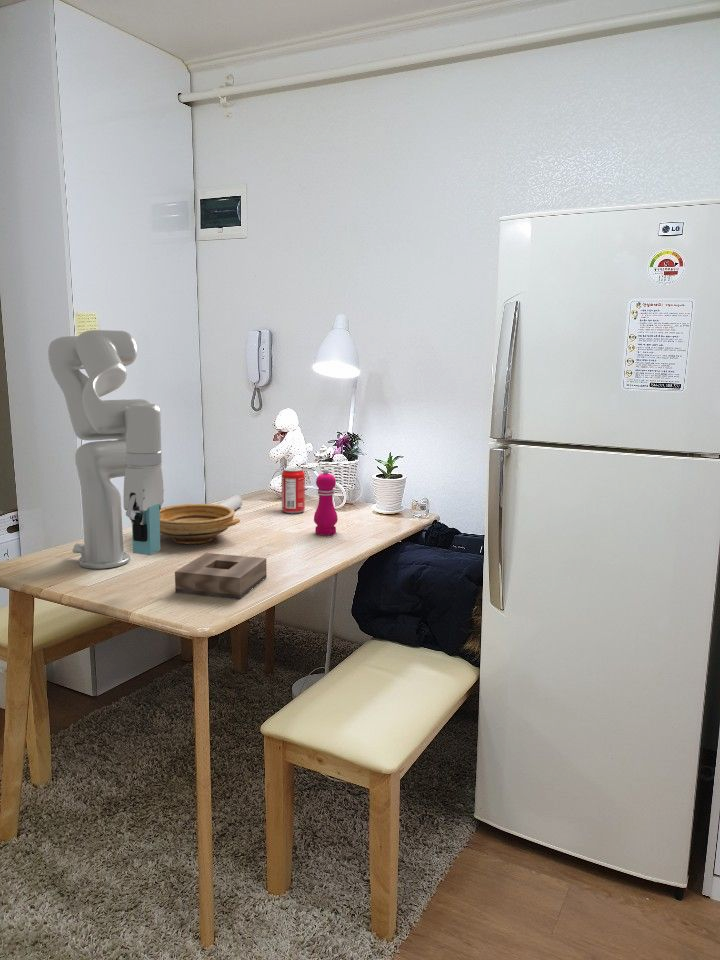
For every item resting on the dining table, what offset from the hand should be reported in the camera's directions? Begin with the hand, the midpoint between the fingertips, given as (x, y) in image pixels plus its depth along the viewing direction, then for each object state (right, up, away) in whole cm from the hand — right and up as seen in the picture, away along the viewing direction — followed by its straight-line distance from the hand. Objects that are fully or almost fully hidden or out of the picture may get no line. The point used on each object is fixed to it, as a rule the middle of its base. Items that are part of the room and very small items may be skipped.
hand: (146, 537), depth 166 cm
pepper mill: (+38, -3, +56) cm, 68 cm away
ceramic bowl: (0, -4, +48) cm, 48 cm away
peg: (0, -3, +1) cm, 3 cm away
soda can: (+26, +2, +84) cm, 88 cm away
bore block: (+16, -12, +7) cm, 21 cm away
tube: (+3, +1, +79) cm, 79 cm away
